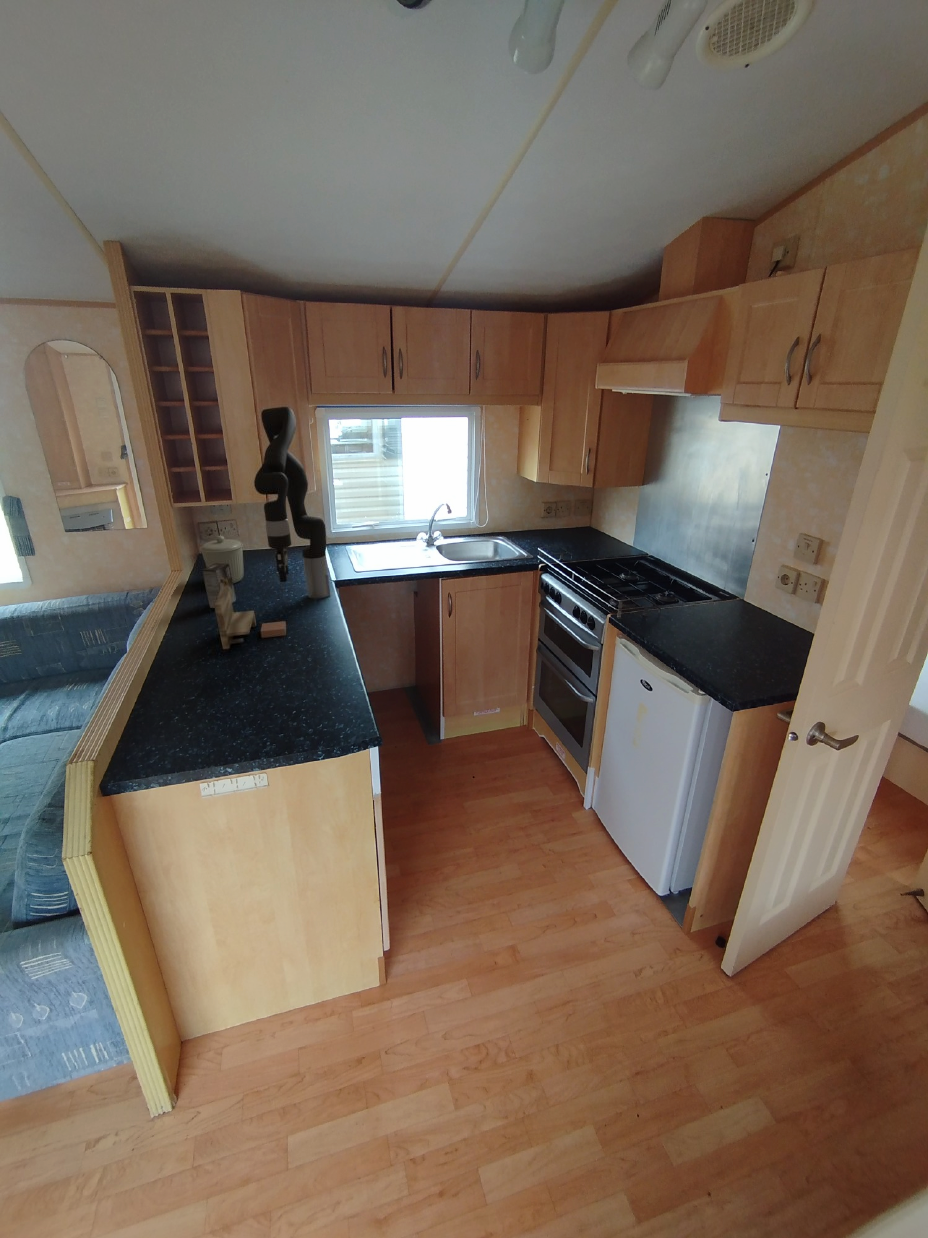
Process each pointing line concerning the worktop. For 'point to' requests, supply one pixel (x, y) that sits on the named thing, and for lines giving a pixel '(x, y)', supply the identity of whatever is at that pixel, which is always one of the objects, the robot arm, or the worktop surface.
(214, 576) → the coffee box
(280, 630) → the tan cardboard carton
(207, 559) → the canister
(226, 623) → the nook
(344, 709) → the worktop surface
